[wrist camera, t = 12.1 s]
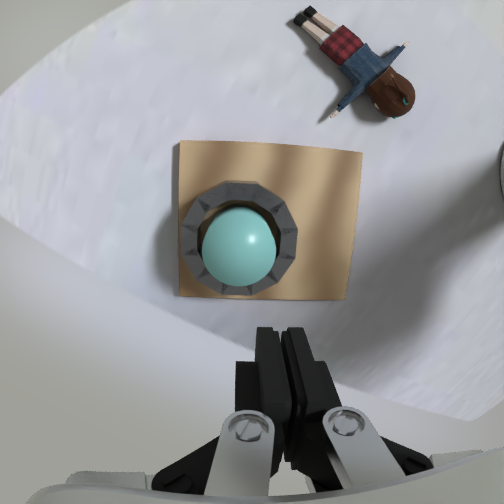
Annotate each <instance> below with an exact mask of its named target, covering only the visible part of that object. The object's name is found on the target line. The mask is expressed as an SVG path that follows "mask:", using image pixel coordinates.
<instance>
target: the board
mask: <svg viewBox="0 0 504 504" xmlns="http://www.w3.org/2000/svg"><path fill="white" fill-rule="evenodd" d="M362 157H363V153H361V152H353V151H345V150H337V149H329V148H319V147H309V146H299V145H287V144H273V143H257V142H235V141H180V157H179V207H178V231H179V282H180V296H189V297H211V298H240V299H283V300H345V296H346V290H347V284H348V278H349V271H350V265H351V258H352V251H353V244H354V236H355V228H356V220H357V211H358V202H359V192H360V181H361V170H362ZM225 180H239V181H256V182H258V183H259V184H261V185H262V186H264V187H266V188H267V189H269V190H270V191H272V192H273V193H275V194H276V195H278V196H279V197H281V198H282V199H283V200H284V201H285V203H286V205H287V207H288V209H289V211H290V213H291V215H292V218H293V220H294V222H295V224H296V226H297V228H298V235H297V246H296V257H295V260H294V261H293V263H292V264H291V266H290V267H289V268H288V270H287V271H286V273H285V274H284V275H283V277H282V278H281V280H280V281H279V282H278V283H277V284H275V285H273V286H271V287H269V288H267V289H265V290H263V291H260V292H258V293H256V294H254V295H252V296H243V295H221V294H220V293H218V292H216V291H214V290H213V289H211V288H209V287H207V286H206V285H204V284H202V283H200V282H199V281H197V280H196V279H195V277H194V275H193V274H192V272H191V271H190V269H189V267H188V266H187V264H186V262H185V261H184V259H183V257H182V256H181V223H182V222H183V220H184V218H185V217H186V215H187V213H188V212H189V210H190V208H191V207H192V205H193V203H194V202H195V200H196V198H197V197H198V196H199V195H200V194H201V193H203V192H205V191H207V190H208V189H210V188H212V187H214V186H216V185H218V184H220V183H222V182H224V181H225ZM233 204H245V205H249V206H251V207H253V208H255V209H257V210H258V211H259V212H260V213H261V214H262V215H263V216H264V218H265V219H266V221H267V224H268V226H269V228H270V231H271V233H272V236H273V238H274V241H275V245H276V236H277V224H276V222H275V220H274V218H273V216H272V214H271V212H269V211H268V210H266V209H264V208H263V207H261V206H260V205H258V204H257V203H255V202H253V201H245V200H228V201H226V202H224V203H222V204H220V205H218V206H217V207H215V208H213V209H211V210H209V211H208V213H207V214H206V216H205V218H204V219H203V221H202V223H201V244H202V245H203V241H204V238H205V235H206V233H207V230H208V228H209V225H210V223H211V220H212V219H213V217H214V216H215V214H216V213H217V212H218V211H220V210H221V209H223V208H224V207H226V206H229V205H233Z"/></svg>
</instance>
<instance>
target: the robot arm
mask: <svg viewBox="0 0 504 504" xmlns="http://www.w3.org/2000/svg"><path fill="white" fill-rule="evenodd" d="M501 186H502V191H503V195H504V151H503V155H502V160H501ZM235 377H236V378H235V413H233V414H231V415H230V416H228V417H227V418H226V419H225V421H224V423H223V426H222V430H221V433H220V436H218V437H216V438H215V439H213V440H212V441H210V442H208V443H207V444H205V445H204V446H202V447H200V448H199V449H197V450H195V451H194V452H192V453H190V454H189V455H187V456H185V457H184V458H182V459H180V460H178V461H177V462H175V463H173V464H171V465H170V466H168V467H166V468H164V469H162V470H161V471H160V472H158V473H157V474H156V475H145V473H144V472H96V471H95V472H94V471H80V472H76V473H74V474H71V475H70V476H69V478H68V479H67V480H66V483H65V484H59V485H53V486H49V487H45V488H43V489H41V490H39V491H37V492H36V493H35V494H33V495H32V496H31V497H30V499H29V500H28V501H27V502H26V504H504V447H501V448H495V449H492V450H488V451H484V452H483V451H481V450H471V451H463V452H454V453H445V454H433V455H431V456H430V458H427V457H426V456H425V455H423V454H421V453H419V452H416V451H414V450H412V449H409V448H407V447H404V446H402V445H400V444H397V443H395V442H393V441H390V440H388V439H386V438H383V437H381V436H380V435H379V434H378V432H377V431H376V429H375V428H374V426H373V425H372V423H371V422H370V420H369V419H368V417H367V416H366V415H365V414H364V413H363V412H361V411H360V410H358V409H355V408H352V407H346V406H342V405H341V402H340V399H339V396H338V394H337V391H336V389H335V386H334V383H333V380H332V378H331V375H330V373H329V370H328V367H327V365H326V363H325V361H314V358H313V355H312V352H311V349H310V346H309V343H308V340H307V337H306V334H305V331H304V329H303V328H302V327H288V329H287V331H282V334H281V343H280V338H279V333H278V331H273V328H272V327H257V334H256V349H255V362H245V361H236V375H235ZM283 452H284V459H285V462H291V469H292V470H298V471H299V472H301V473H303V474H305V475H306V476H305V480H306V484H307V487H308V489H309V492H310V494H300V495H287V496H286V495H285V496H268V491H269V481H270V478H271V477H272V476H273V475H274V474H275V473H277V472H278V468H279V464H280V462H281V459H282V454H283Z"/></svg>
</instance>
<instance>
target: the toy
mask: <svg viewBox="0 0 504 504" xmlns="http://www.w3.org/2000/svg"><path fill="white" fill-rule="evenodd" d="M303 14H304V15H305V16H307V17H309V18H311V19H312V20H314V21H315V22H316V23H317V24H318V25H319V26H320V27H321V28H322V29H323V30H324V31H326V32H327V33H328V34H327V33H326V32H324V31H323V30H321V29H320V28H318V27H317V26H315V25H314V24H312V23H311V22H309V21H308V20H307V19H306V18H305V17H304V16H303V15H301V14H299V15H297V16H296V17H295V18H294V21H293V22H294V23H295V24H296V25H299V26H301V27H302V28H303V29H304V30H306V31H307V32H308V33H309V34H310V35H311V36H312V37H313V38H314V39H315V40H316V41H317V42H318V43H319V44H320V45H321V46H320V49H321V50H322V51H323V52H324V53H325V54H326V55H327V56H328V57H329V58H331V59H332V60H333V61H334V62H335V63H336V64H338V65H339V66H340V67H339V69H340V70H341V71H342V72H344V73H345V74H346V75H347V76H348V77H349V79H350V80H351V82H352V83H353V87H352V89H351V91H350V92H349V93H348V94H347V95H346V96H345V97H344V98H343V99H342V100H341V101H340V102H339V103H338V108H337V109H336V110H335V111H334V112H333V113H332V115H331V116H330V118H332V117H334V116H336V115H337V114H338V113H339V112H340V111H341V110H342V109H344V108H345V107H346V106H347V105H348V104H349V103H351V102H352V101H353V100H354V99H355V98H356V97H358V96H359V95H360V94H361V93H362V92H364V91H366V92H367V93H368V94H369V95H370V96H371V97H372V100H373V103H374V105H375V107H376V108H377V109H378V110H379V111H380V112H381V113H382V114H383V115H385V116H388V117H392V118H394V119H395V118H398V117H399V116H402V115H404V114H406V113H407V112H409V110H411V108H412V106H413V104H414V101H415V90H414V88H413V86H412V84H411V83H410V82H409V81H408V80H407V79H406V78H404V77H403V76H401V75H400V74H398V73H396V72H395V71H394V69H393V68H392V67H391V66H390V65H391V63H392V62H393V61H394V60H395V59H396V57H397V56H398V55H399V54H400V53H401V52H402V51H403V49H404V48H405V47H406V46H407V45H408V43H409V42H408V41H407V42H406V43H405V44H403V45H402V46H401V47H400V46H397V47H396V48H395V49H394V50H393V51H392V52H390V53H389V54H388V55H387V56H385V57H383V58H381V57H379V56H378V55H376V54H375V53H374V52H372V51H371V49H370V48H369V46H368V45H367V43H365V44H364V43H363V42H362V41H361V39H360V38H359V37H357V36H356V35H355V34H354V33H353V32H351V31H350V30H349V29H348V28H346V27H345V26H344V25H342V26H341V27H339V26H338V25H336V24H335V23H333V22H332V21H330V20H328V19H327V18H325V17H324V16H322V15H321V14H319V13H318V12H317V11H316V10H315V9H314V8H312V7H311V6H309V7H308V8H306V9H305V10H304V13H303Z"/></svg>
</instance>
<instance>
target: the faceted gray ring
mask: <svg viewBox="0 0 504 504" xmlns="http://www.w3.org/2000/svg"><path fill="white" fill-rule="evenodd" d="M228 200H245V201H253V202H255V203H257V204H258V205H260V206H261V207H263V208H264V209H266V210H268V211H269V212H271V214H272V216H273V218H274V220H275V222H276V224H277V236H276V257H275V261H274V264H273V266H272V268H271V269H270V271H269V272H268V273H267V275H266V276H265V277H263V278H262V279H261V280H259V281H257V282H256V283H253V284H251V285H247V286H231V285H227V284H224V283H222V282H220V281H219V280H217V279H216V278H215V277H213V276H212V275H211V274H210V272H209V271H208V270H207V268H206V266H205V264H204V261H203V257H202V244H201V223H202V221H203V219H204V218H205V216H206V214H207V213H208V211H209V210H211V209H213V208H215V207H217V206H218V205H220V204H222V203H224V202H226V201H228ZM297 235H298V228H297V226H296V224H295V222H294V220H293V218H292V215H291V213H290V211H289V209H288V207H287V205H286V203H285V201H284V200H283V199H282V198H281V197H279V196H278V195H276V194H275V193H273V192H272V191H270V190H269V189H267V188H266V187H264V186H262V185H261V184H259V183H258V182H256V181H239V180H225V181H224V182H222V183H220V184H218V185H216V186H214V187H212V188H210V189H208V190H207V191H205V192H203V193H201V194H200V195H199V196H198V197H197V198H196V200H195V202H194V203H193V205H192V207H191V208H190V210H189V212H188V213H187V215H186V217H185V218H184V220H183V222H182V223H181V256H182V257H183V259H184V261H185V262H186V264H187V266H188V267H189V269H190V271H191V272H192V274H193V275H194V277H195V279H196V280H197V281H199V282H200V283H202V284H204V285H206V286H207V287H209V288H211V289H213V290H214V291H216V292H218V293H220V294H221V295H243V296H252V295H254V294H256V293H258V292H260V291H263V290H265V289H267V288H269V287H271V286H273V285H275V284H277V283H278V282H279V281H280V280H281V278H282V277H283V275H284V274H285V273H286V271H287V270H288V268H289V267H290V266H291V264H292V263H293V261H294V260H295V257H296V246H297Z"/></svg>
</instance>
